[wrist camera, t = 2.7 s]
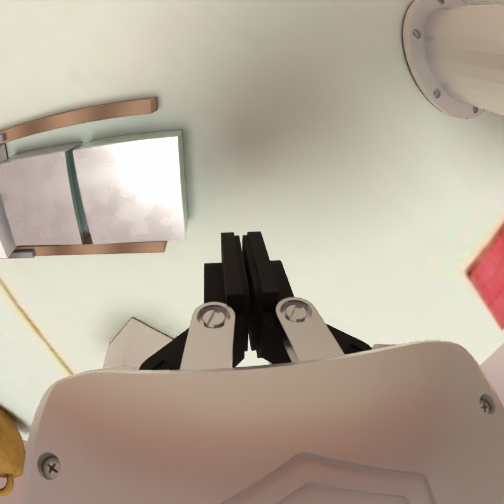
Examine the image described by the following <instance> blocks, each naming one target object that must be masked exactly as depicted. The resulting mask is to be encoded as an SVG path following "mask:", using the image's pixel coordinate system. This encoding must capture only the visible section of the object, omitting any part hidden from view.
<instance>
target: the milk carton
mask: <svg viewBox="0 0 504 504" xmlns="http://www.w3.org/2000/svg"><path fill="white" fill-rule="evenodd" d="M172 340H173V339H171V338H169V337H167V336H165V335H163V334H161V333H160V332H158V331H156V330H154V329H152V328H150V327H148V326H146V325H144V324H143V323H141V322H139V321H137V320H135V319H133V318H132V319H131V320H130V321H129V322H128V323H127V324H126V326H125V327H124V328H123V329H122V330H121V332H120V333H119V334H118V335H117V336H116V337H115V339H114V340H113V341H112V342H111V343H110V345H109V347H108V351H107V354H106V358H105V362H104V366H103V369H105V368H111V367H118V366H124V365H130V364H133V366H134V367H136V366H141V364H142V363H143V362H144V361H145V360H146V359H147V358H149V357H150V356H152V355H153V354H154V353H156V352H157V351H158V350H160V349H161V348H162V347H164V346H165V345H167V344H168V343H169V342H171V341H172Z"/></svg>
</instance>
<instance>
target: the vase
mask: <svg viewBox="0 0 504 504" xmlns="http://www.w3.org/2000/svg"><path fill="white" fill-rule="evenodd" d="M25 454H26V453H25V447H24V443H23V440H22V437H21V435H20V433H19V431H18V429H17V427H16V426H15V424H14V422H13V420H12V418H11V416H10V415H9V414H8V413H7V412H6V411H4V410H3V409H1V408H0V477H3V478H7V483H6V486H5V487H4V488H2V489H0V496H6V495H8V494H9V493H10V492H11V491H12V489H13V486H14V479H13V478H16V477H20V476H22V475H23V468H24V460H25Z"/></svg>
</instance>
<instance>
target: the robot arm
mask: <svg viewBox="0 0 504 504" xmlns="http://www.w3.org/2000/svg"><path fill="white" fill-rule="evenodd" d="M403 41H404V49H405V54H406V58H407V62H408V65H409V67H410V70H411V73H412V75H413V77H414V79H415V81H416V83H417V85H418V86H419V88H420V89H421V91H422V92H423V94H424V95H425V96H426V98H427V99H428V100H429V101H430V102H431V103H432V104H433V105H434V106H436V107H437V108H438V109H440V110H441V111H443V112H445V113H447V114H449V115H452V116H455V117H458V118H466V119H468V118H473V117H476V116H478V115H480V114H481V113H482V112H484V111H485V110H488V111H491V112H493V113H496V114H499V115H502V116H504V5H499V4H490V5H468V4H466V3H465V2H464V1H462V0H415V1H414V2H413V3H412V4H411V5H410V7H409V9H408V11H407V13H406V16H405V20H404V27H403ZM221 253H222V263H204V304H202V305H200V306H199V307H198V308H196V309H195V311H194V313H193V315H192V319H191V323H190V328H188V329H187V330H186V331H184V332H183V333H181V334H180V335H179V336H177V337H176V338H175V339H173V340H172V341H171V342H169V343H168V344H167V345H165V346H164V347H162V348H161V349H160V350H158V351H157V352H156V353H154V354H153V355H152V356H150V357H149V358H147V359H146V360H145V361H144V362H143V363H142V364H141V366H136V367H134V366H133V364H130V365H124V366H118V367H111V368H105V369H98V370H90V371H85V372H82V373H79V374H75V375H72V376H68V377H66V378H63V379H61V380H59V381H57V382H55V383H54V384H52V385H51V386H50V387H49V388H48V389H47V390H46V392H45V393H44V395H43V397H42V399H41V400H40V403H39V405H38V408H37V410H36V413H35V416H34V419H33V422H32V426H31V430H30V434H29V438H28V443H27V447H26V454H25V460H24V468H23V476H22V486H21V504H504V407H503V405H502V403H501V401H500V400H499V397H498V395H497V394H496V392H495V390H494V388H493V386H492V385H491V383H490V381H489V380H488V378H487V377H486V375H485V373H484V372H483V370H482V369H481V367H480V366H479V364H478V363H477V362H476V360H475V359H474V358H473V357H472V355H471V354H470V353H469V352H468V351H467V350H466V349H465V348H463V347H462V346H460V345H459V344H456V343H453V342H449V341H441V340H424V341H415V342H410V343H404V344H399V345H385V344H374V346H373V347H370V346H369V345H368V344H366V343H365V342H363V341H361V340H359V339H357V338H355V337H352V336H350V335H348V334H346V333H344V332H342V331H340V330H338V329H336V328H334V327H332V326H330V325H327V324H325V322H324V321H323V319H322V317H321V316H320V314H319V313H318V311H317V310H316V308H315V307H314V305H313V304H312V303H311V302H309V301H307V300H305V299H302V298H298V297H294V295H293V292H292V290H291V287H290V284H289V281H288V278H287V276H286V273H285V270H284V268H283V265H282V262H281V261H280V260H275V261H270V260H269V256H268V253H267V250H266V247H265V244H264V241H263V237H262V234H261V232H248V233H247V235H243V239H242V249H241V243H240V238H239V236H234V232H230V233H221ZM248 333H249V339H250V346H251V350H252V351H254V350H256V352H257V358H264V359H265V360H267V361H269V365H261V366H249V367H236V366H237V365H238V364H239V363H240V362H241V361H242V360H243V359H244V351H247V350H248Z"/></svg>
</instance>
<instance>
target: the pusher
mask: <svg viewBox="0 0 504 504" xmlns="http://www.w3.org/2000/svg"><path fill="white" fill-rule="evenodd" d="M6 159H7V155H6V149H5V144H4V145H0V163H1V162H3V161H4V160H6ZM16 247H17V246H16V244H15V241H14V238H13V235H12V232H11V229H10V226H9V223H8V219H7V216H6V212H5V208H4V205H3V201H2V197H1V193H0V258H8V257H9V256H10V254H11V253H12V252H13V251H14V249H15V248H16Z"/></svg>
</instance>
